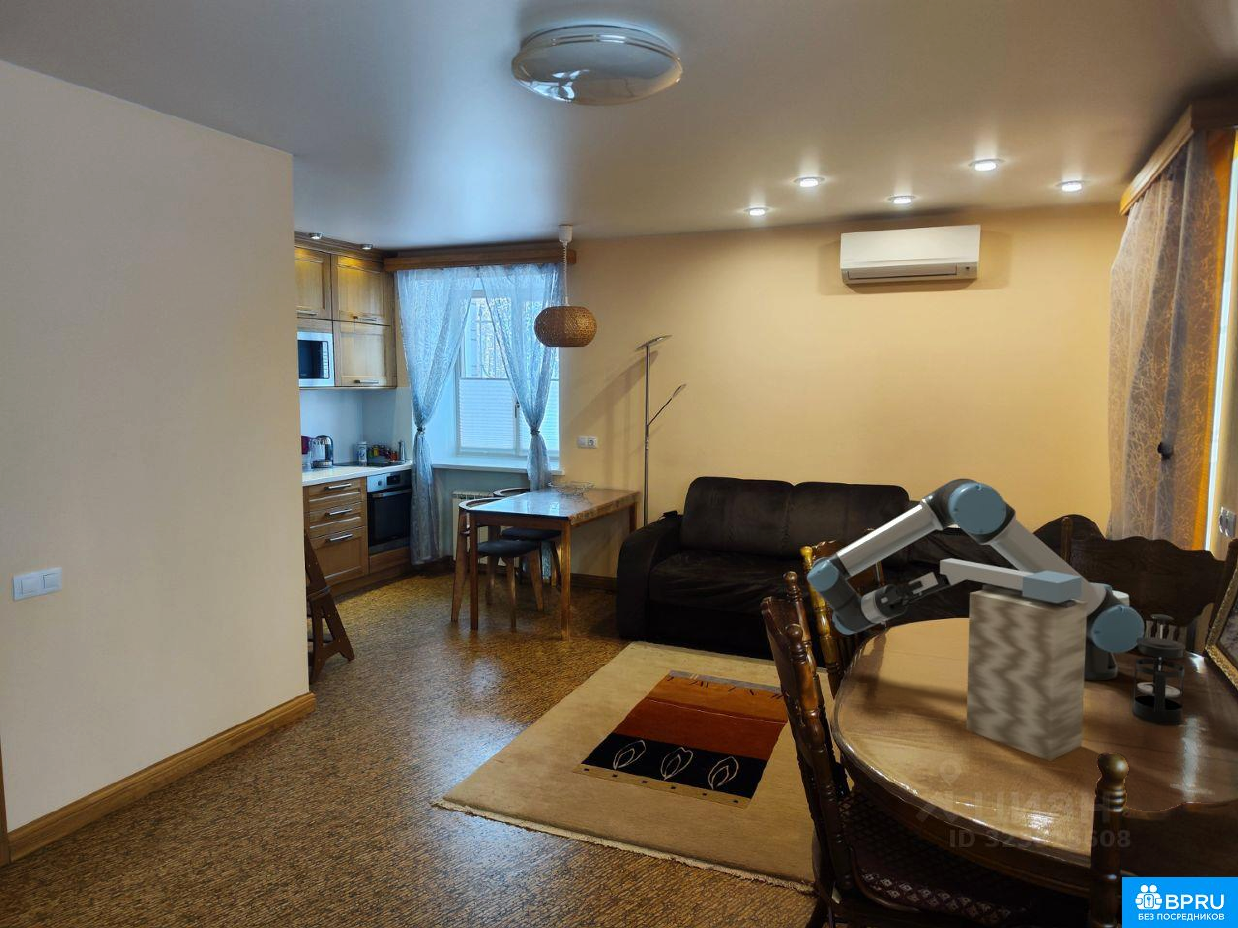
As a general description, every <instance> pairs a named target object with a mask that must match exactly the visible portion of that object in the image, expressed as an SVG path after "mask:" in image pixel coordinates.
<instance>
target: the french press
mask: <svg viewBox="0 0 1238 928" xmlns="http://www.w3.org/2000/svg"><path fill="white" fill-rule="evenodd" d="M1150 618H1151V619H1155V620H1158V624H1159V625H1160V627H1159V630H1160V631H1159V637H1157V636H1155V637H1154V636H1143V637H1141V638H1138V639H1137V643H1138V644H1137V645H1138V651H1139V652H1140V653H1141V654H1144V655H1147V656H1151V657H1141V658H1137V659H1135V663H1134V664H1135V667H1134V688H1133V689H1134V690H1133V709H1132V710H1131V713H1132V716H1133V717H1136V718H1137V719H1138V720H1141V721H1143V722H1147V723H1151V724H1155V725H1159V726H1171V727H1172V726H1179V725H1182V724H1183V723H1184V719H1183V707H1184V706H1183V705H1184V704H1183V703H1184V687H1185V686H1184V685H1185V684H1184V683H1185V667H1184V665H1182V664H1180V663H1178V662H1175V661H1173V660H1172V661H1171V660H1168V659H1180V658H1182V657H1183V653H1184V651H1183V650H1185V649H1186V645H1185V644H1184V643H1182V642H1180V641H1176V640H1174V639H1171V638H1170V639H1169V638H1165V637H1163V626H1165V621H1173V620H1174V618H1173V617H1172V616H1169V615H1167V614H1166V615H1165V614H1160V613H1158V614H1157V613H1156V614H1151V615H1150ZM1154 657H1155V658H1154ZM1145 665H1153V668H1151V667H1146V666H1145ZM1164 667H1168V668H1173V669H1175V670H1176V671H1175V670H1174V671H1173V670H1172V671H1171V670H1164ZM1138 671H1140V672H1142V673H1144V674H1148V675H1151V676H1152V682H1145V681H1144V682H1139V683H1138V682H1137V676H1138V675H1137V673H1138ZM1167 678H1181V690H1180V689H1179V688H1176V687H1174V686H1172V685H1168V684H1167ZM1137 691H1138V692H1139V693H1142V694H1141V695H1137ZM1179 698H1180V702H1178V701H1176V700H1174V699H1179Z"/></svg>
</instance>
